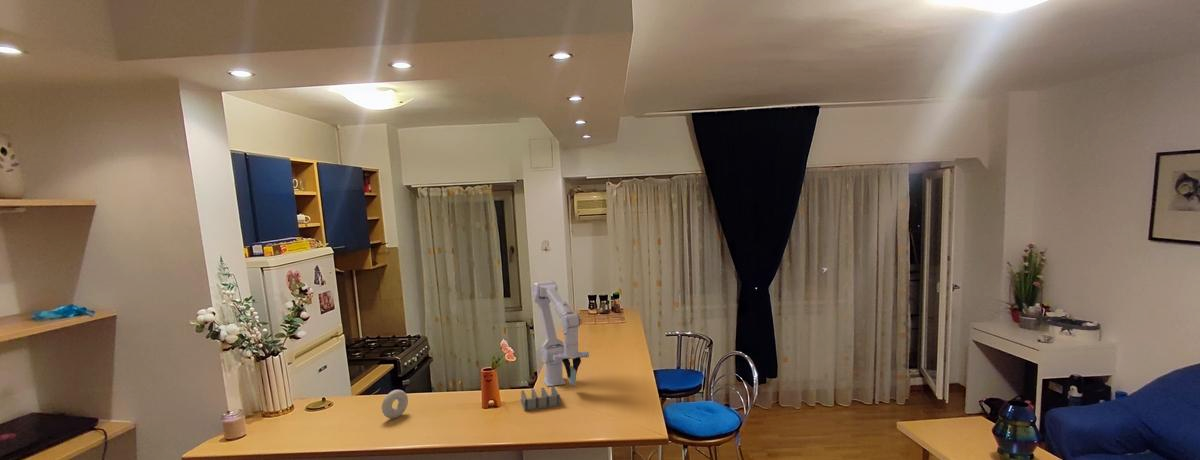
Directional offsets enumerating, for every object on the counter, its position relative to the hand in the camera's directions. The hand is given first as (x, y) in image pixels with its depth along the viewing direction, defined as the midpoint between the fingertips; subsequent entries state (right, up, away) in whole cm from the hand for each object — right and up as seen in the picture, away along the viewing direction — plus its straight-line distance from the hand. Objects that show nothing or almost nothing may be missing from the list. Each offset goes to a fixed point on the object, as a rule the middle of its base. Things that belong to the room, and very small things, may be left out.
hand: (571, 376), depth 188 cm
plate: (0, -2, 0) cm, 2 cm away
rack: (-12, -8, -9) cm, 17 cm away
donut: (-63, -9, -19) cm, 66 cm away
